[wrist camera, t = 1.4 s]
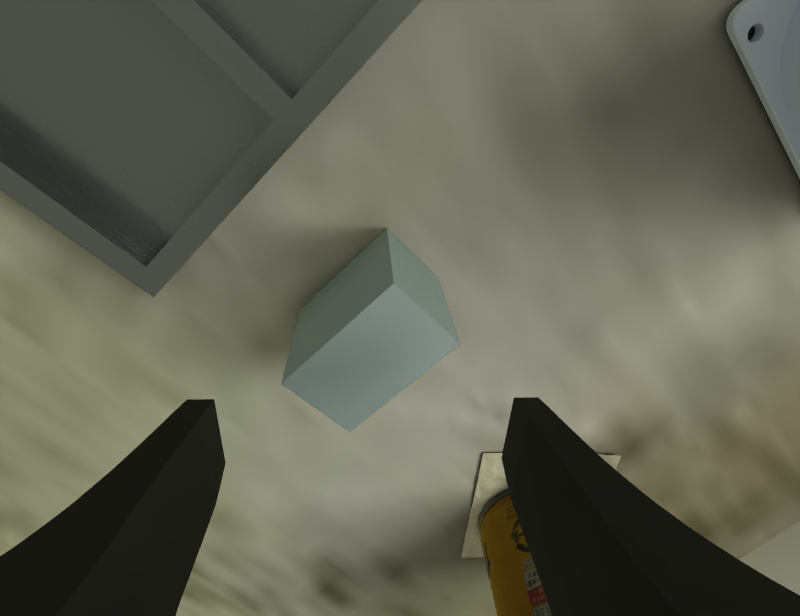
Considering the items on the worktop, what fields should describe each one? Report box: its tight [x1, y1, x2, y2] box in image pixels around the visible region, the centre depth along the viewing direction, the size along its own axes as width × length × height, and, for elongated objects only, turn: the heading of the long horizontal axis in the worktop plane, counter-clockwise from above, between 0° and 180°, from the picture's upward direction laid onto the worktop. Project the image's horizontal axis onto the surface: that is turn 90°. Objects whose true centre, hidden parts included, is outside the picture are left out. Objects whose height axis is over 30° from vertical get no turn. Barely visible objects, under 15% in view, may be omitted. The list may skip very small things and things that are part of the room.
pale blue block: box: [281, 228, 460, 432], centre depth 17 cm, size 3×5×5 cm, turn 134°
